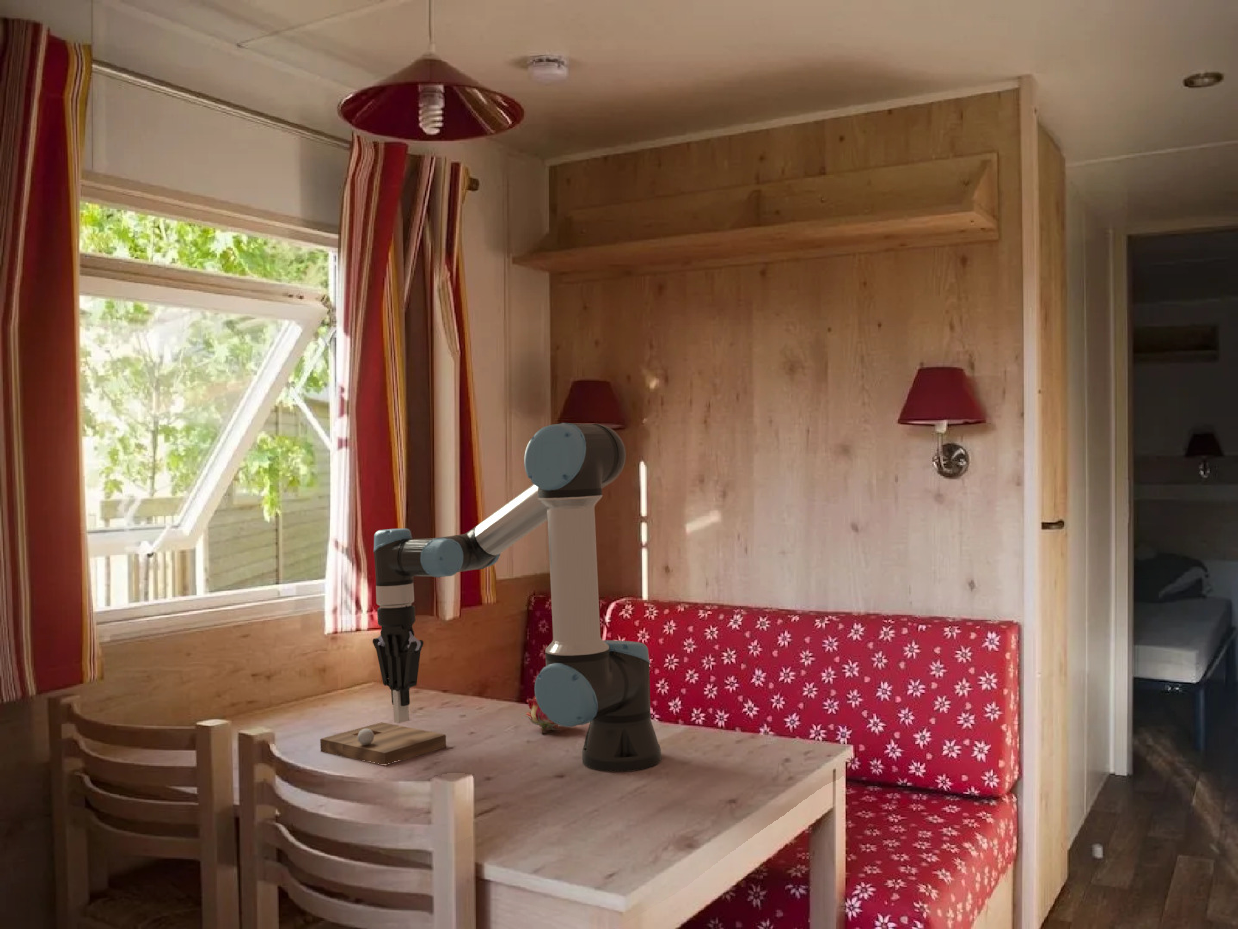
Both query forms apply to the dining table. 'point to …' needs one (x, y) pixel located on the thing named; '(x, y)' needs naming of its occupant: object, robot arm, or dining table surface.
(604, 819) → the dining table surface
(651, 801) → the dining table surface
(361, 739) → the grey ball
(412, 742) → the board
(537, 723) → the flower
